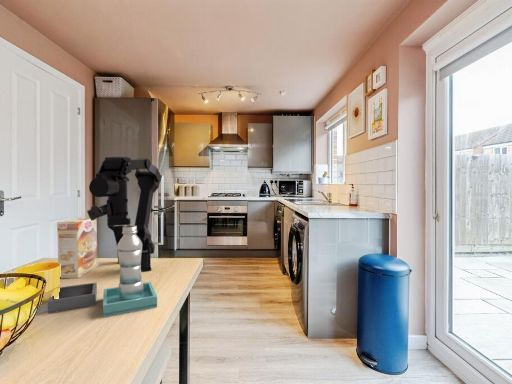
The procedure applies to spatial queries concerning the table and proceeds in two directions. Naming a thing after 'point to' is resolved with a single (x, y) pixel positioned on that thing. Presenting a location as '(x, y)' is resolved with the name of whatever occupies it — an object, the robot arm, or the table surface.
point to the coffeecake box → (77, 246)
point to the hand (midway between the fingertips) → (118, 244)
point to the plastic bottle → (130, 264)
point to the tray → (128, 301)
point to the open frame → (73, 297)
